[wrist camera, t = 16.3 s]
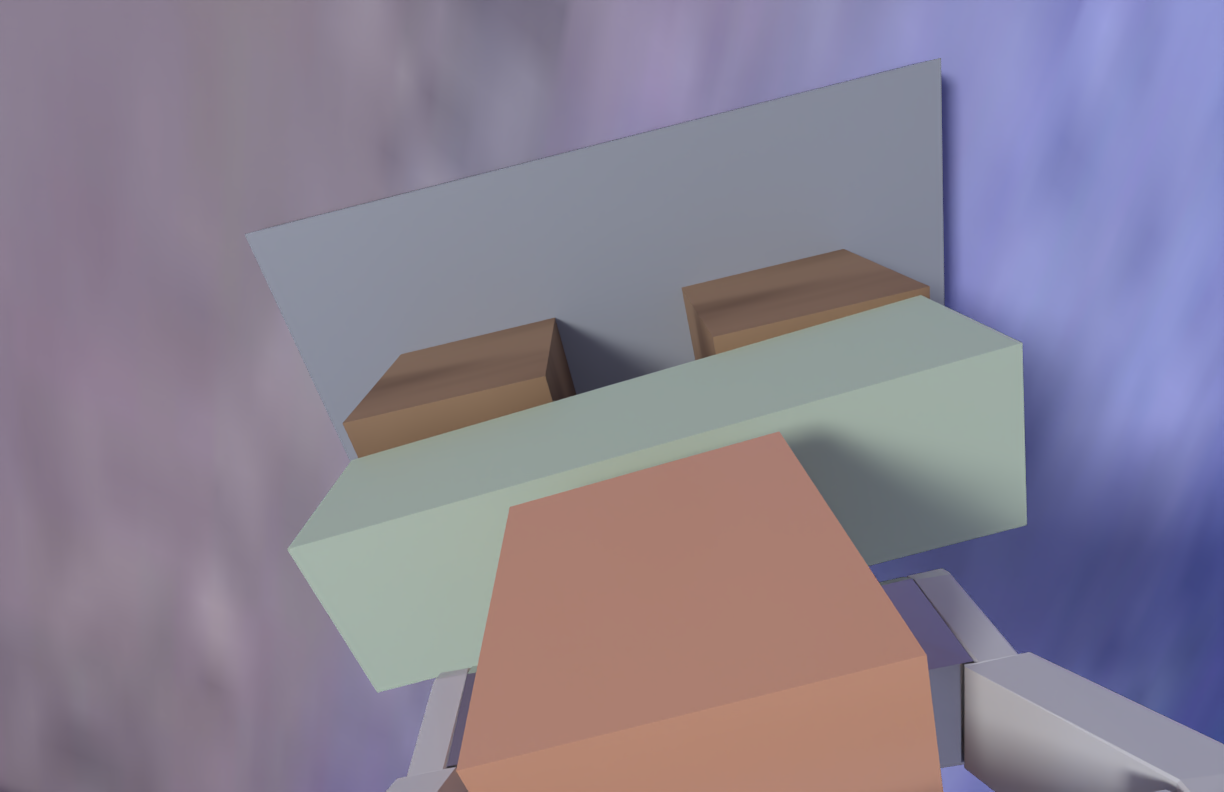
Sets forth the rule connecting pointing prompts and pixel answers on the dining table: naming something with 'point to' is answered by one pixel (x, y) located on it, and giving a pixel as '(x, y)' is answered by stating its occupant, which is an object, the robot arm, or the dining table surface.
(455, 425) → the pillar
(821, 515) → the cube
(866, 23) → the dining table surface
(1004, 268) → the dining table surface
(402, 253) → the board
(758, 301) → the tan wooden block
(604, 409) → the plank
